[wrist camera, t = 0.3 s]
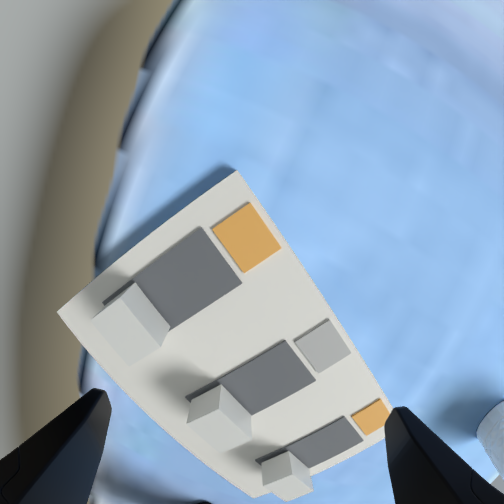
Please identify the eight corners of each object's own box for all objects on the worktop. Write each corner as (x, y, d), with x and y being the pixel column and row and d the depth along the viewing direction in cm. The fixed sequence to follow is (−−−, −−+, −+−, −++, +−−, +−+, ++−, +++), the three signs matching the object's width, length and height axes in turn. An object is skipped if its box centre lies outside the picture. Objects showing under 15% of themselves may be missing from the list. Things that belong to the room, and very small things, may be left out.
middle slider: (222, 428, 24) (220, 453, 21) (191, 399, 23) (186, 424, 20) (251, 415, 24) (251, 439, 21) (221, 384, 23) (218, 408, 20)
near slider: (141, 345, 22) (129, 366, 19) (107, 303, 21) (90, 320, 18) (170, 326, 22) (160, 347, 19) (135, 282, 21) (120, 297, 18)
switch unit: (253, 491, 28) (253, 499, 27) (62, 307, 23) (55, 312, 22) (400, 420, 26) (404, 427, 25) (237, 170, 21) (236, 169, 20)
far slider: (283, 480, 26) (285, 501, 23) (261, 462, 25) (262, 486, 22) (309, 468, 26) (313, 491, 23) (288, 450, 25) (292, 474, 22)
